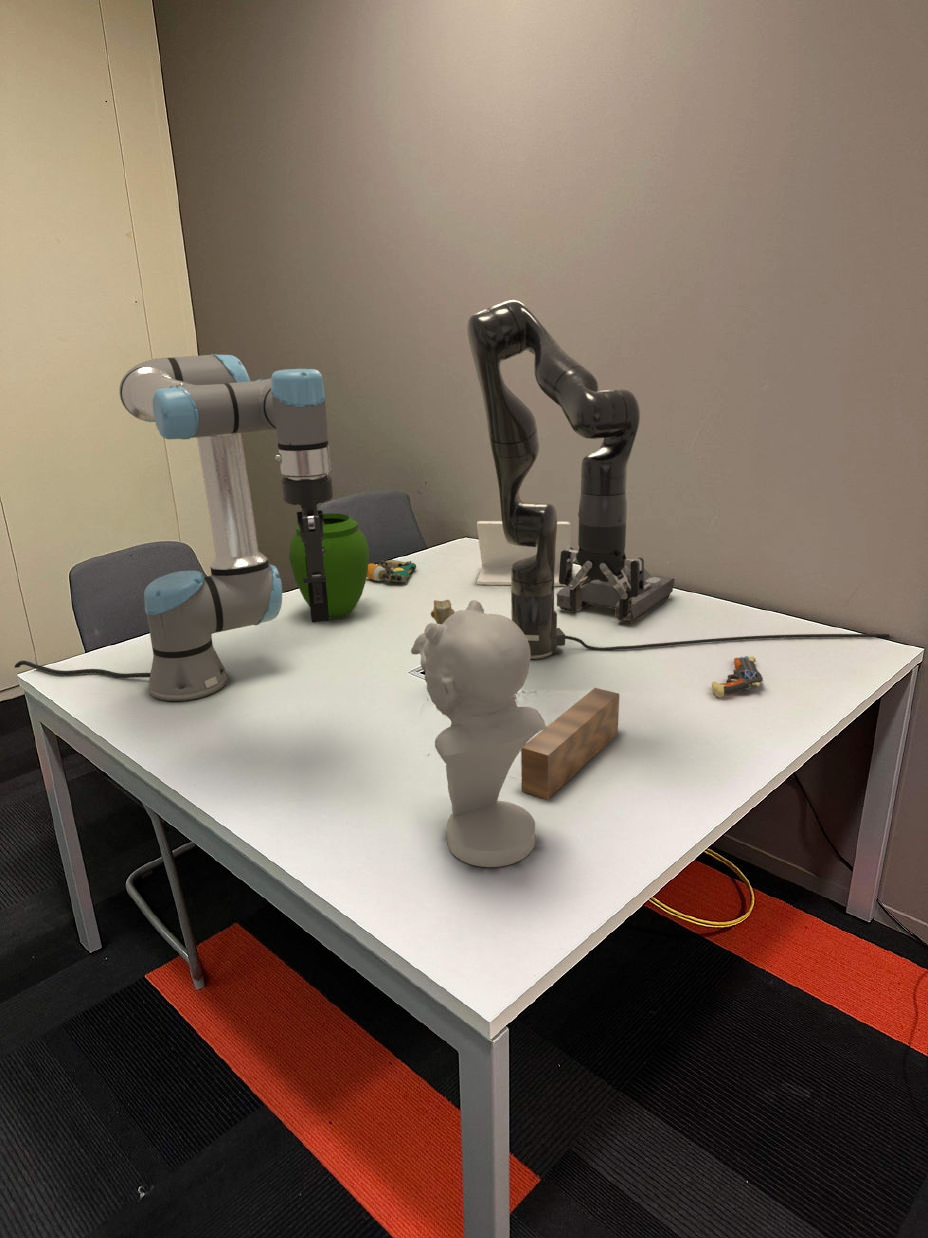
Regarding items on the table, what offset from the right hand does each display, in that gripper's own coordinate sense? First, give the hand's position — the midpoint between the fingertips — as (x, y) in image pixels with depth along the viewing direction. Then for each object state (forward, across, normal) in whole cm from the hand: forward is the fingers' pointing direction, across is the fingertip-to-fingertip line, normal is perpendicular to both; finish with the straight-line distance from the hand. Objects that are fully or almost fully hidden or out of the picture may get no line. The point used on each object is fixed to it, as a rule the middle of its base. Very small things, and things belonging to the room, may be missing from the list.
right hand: (599, 614), depth 142 cm
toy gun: (+24, -13, -36) cm, 45 cm away
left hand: (-4, +35, +30) cm, 46 cm away
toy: (+24, +27, -65) cm, 74 cm away
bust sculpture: (+24, +3, +35) cm, 42 cm away
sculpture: (+24, +40, -10) cm, 47 cm away
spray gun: (+24, +91, -56) cm, 109 cm away
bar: (+24, 0, +9) cm, 25 cm away
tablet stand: (+24, +59, -74) cm, 98 cm away
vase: (+24, +84, -24) cm, 90 cm away
